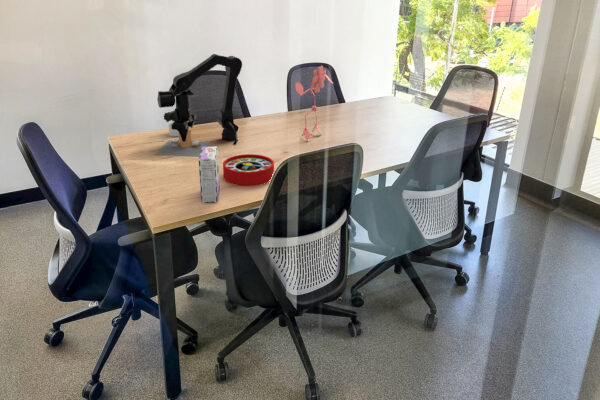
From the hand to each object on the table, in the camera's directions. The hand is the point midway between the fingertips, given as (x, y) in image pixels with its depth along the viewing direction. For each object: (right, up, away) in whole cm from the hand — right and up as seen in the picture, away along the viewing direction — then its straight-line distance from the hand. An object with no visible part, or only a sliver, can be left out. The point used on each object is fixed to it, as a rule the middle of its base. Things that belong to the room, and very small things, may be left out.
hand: (185, 139), depth 219 cm
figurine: (+60, +2, +18) cm, 63 cm away
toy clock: (+31, -18, -26) cm, 45 cm away
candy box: (+20, -26, -44) cm, 54 cm away
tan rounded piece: (0, -2, +1) cm, 3 cm away
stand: (0, -6, -2) cm, 6 cm away
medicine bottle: (-7, +3, +17) cm, 18 cm away
